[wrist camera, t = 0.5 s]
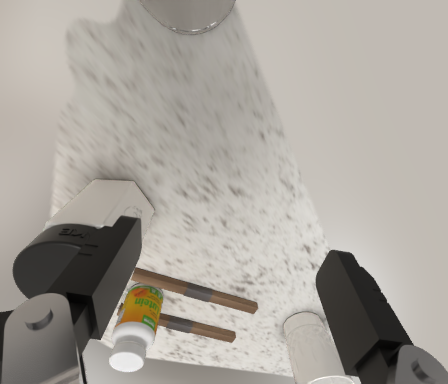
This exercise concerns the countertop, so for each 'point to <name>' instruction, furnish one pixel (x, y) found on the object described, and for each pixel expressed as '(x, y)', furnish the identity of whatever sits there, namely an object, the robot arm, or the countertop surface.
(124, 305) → the supplement bottle
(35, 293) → the jar
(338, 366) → the white cup
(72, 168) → the countertop surface
